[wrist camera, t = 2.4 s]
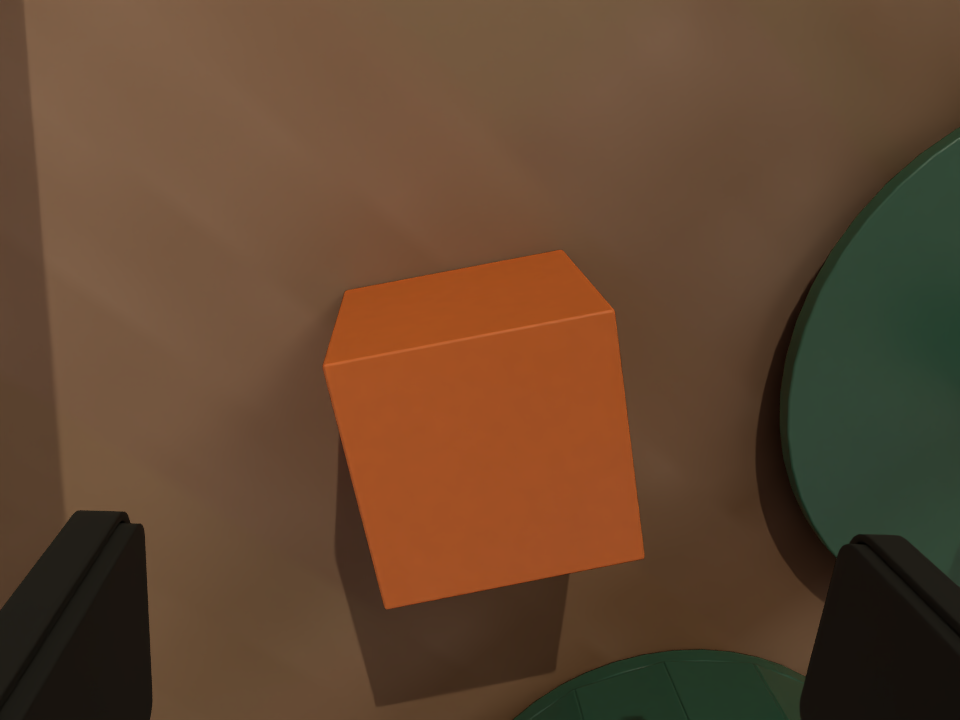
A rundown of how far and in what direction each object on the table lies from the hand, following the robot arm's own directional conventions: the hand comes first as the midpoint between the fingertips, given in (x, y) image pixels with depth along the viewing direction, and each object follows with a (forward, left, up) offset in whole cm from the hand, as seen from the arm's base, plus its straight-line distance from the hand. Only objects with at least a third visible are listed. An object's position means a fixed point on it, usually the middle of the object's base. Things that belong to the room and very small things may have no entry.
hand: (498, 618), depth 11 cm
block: (0, 0, -9) cm, 9 cm away
